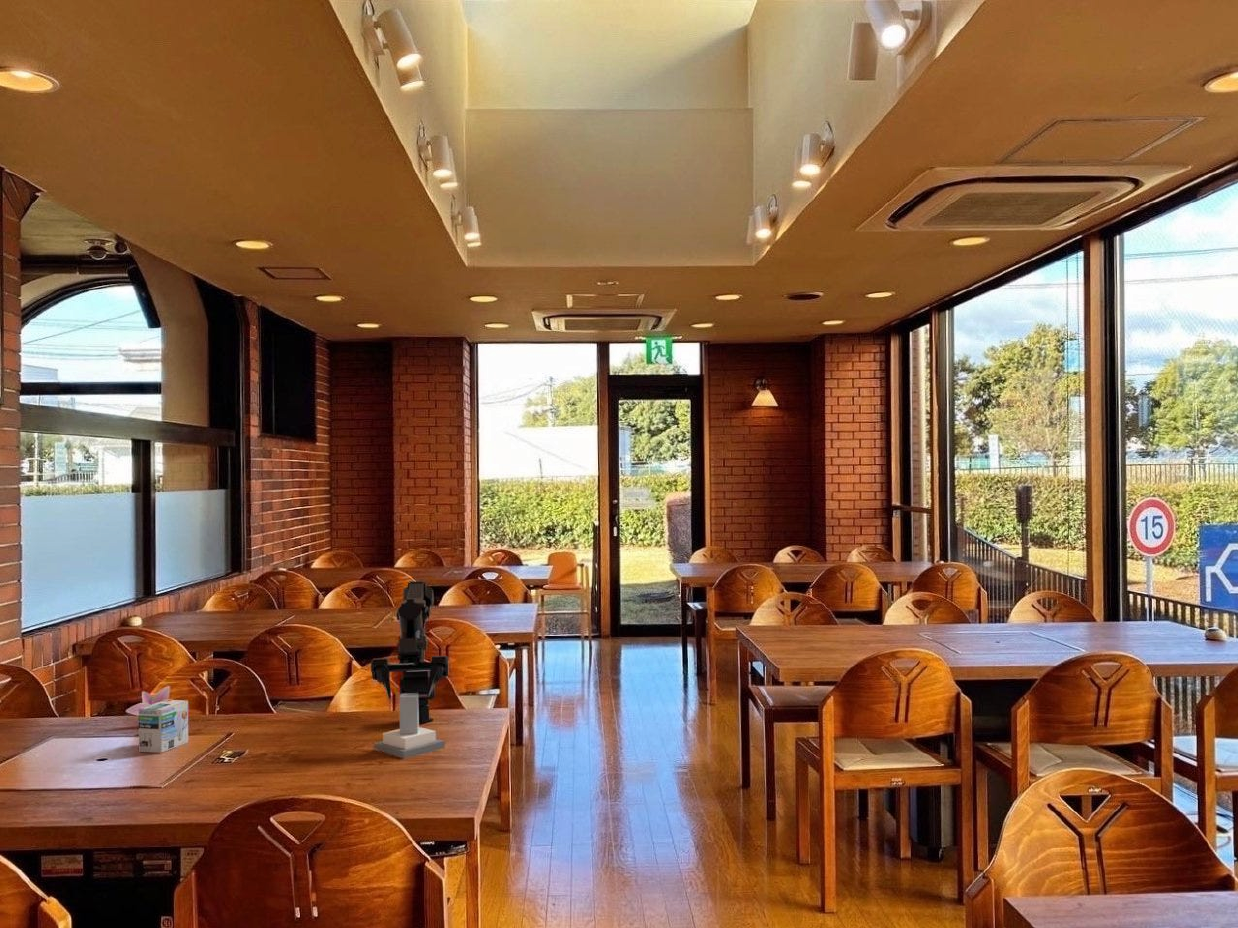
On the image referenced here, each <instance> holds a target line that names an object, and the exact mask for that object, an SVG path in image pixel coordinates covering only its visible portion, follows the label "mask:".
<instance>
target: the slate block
mask: <svg viewBox="0 0 1238 928" xmlns="http://www.w3.org/2000/svg"><path fill="white" fill-rule="evenodd" d="M398 701H399V702H398V703H399V706H398V707H399V729H400V735H405V734H418V731H419V727H420V724H419V701H418V693H405V694H401V695H399V699H398Z"/></svg>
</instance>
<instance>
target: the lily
mask: <svg viewBox="0 0 1238 928" xmlns="http://www.w3.org/2000/svg"><path fill="white" fill-rule="evenodd" d="M170 690H171V686H170V685H167V686H165V687H163V688H161V690H159V691H158V692H156V693H155V694H154V695H152V693H149V692H148V691H144V690H143V691H141V700H142V702H139V703H137V704H134V705H132V706H130V707H129V708H127V709H126V710H125V712H126V713H128V714H131V715H133V716H134V715H135V716H138V717H139V709H140V708H143V707H146V706H149V705H152V704H155V703H158V702H161V701H164V700H169V697H170V692H171V691H170Z"/></svg>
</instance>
